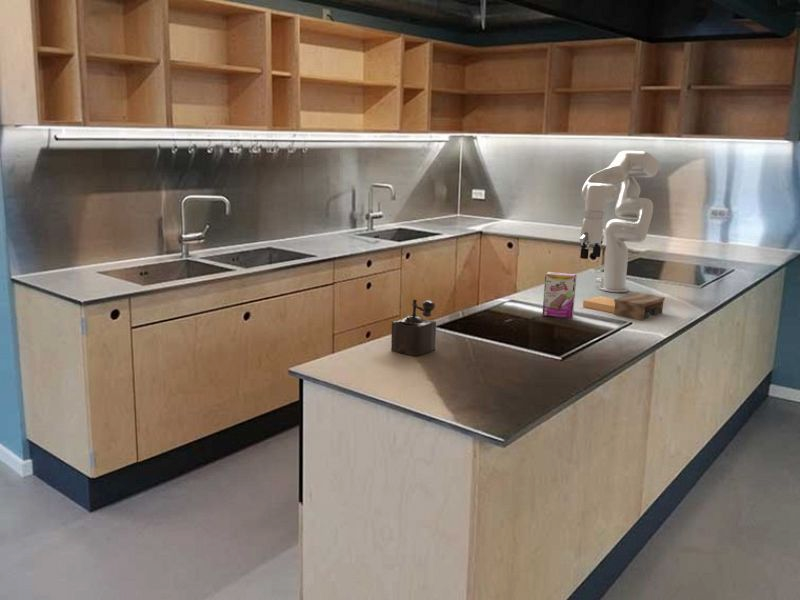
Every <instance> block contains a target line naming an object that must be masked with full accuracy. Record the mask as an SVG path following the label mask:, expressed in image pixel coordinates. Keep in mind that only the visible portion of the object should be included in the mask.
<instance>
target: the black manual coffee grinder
mask: <svg viewBox="0 0 800 600" xmlns="http://www.w3.org/2000/svg"><path fill="white" fill-rule="evenodd" d="M417 302H418V300H417V299H416V298H414V299H412V303H411V306H412V314H411V315H407V316H405V317H403V318H400V319H398V320H393V321H391V349H390V351H391V350H392V351H393V352H396V353H398V354H402V355H403V354H404V355H408V356H414V357H419V356H423V355H426V354H428V353H431V352H433V351H436V334H437V322H436V321H435V320H431V319H425V318H428V317H432V312H433V311H434V309H436V305H435V302H433V301H432V300H428V299H427V300H425V301H423V303H422V306H419V305H418V303H417ZM417 310H419V311H421V312H422V315H423V316H424V317H425V318H423V317H422V316H419V315H417Z"/></svg>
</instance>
